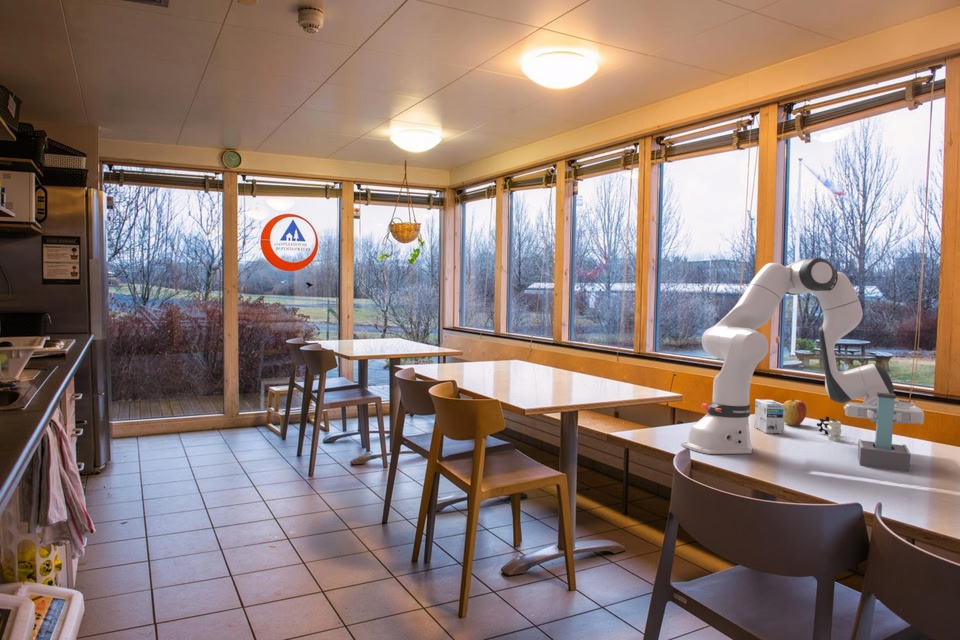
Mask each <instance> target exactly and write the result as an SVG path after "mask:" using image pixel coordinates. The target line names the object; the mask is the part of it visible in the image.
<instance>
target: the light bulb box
mask: <svg viewBox="0 0 960 640" xmlns="http://www.w3.org/2000/svg"><path fill="white" fill-rule="evenodd" d="M754 405H755V406H754V407H755V408H754V409H755V410H754V428H755V427H756V428H755V429H757V428H758V429H757V430H759V429H760V430H759V431H761V432H763V433H765V434H773V433H779V435H784V434H785V422H784V419H785V405H784V404H783V403H781V402H778V401H775V400H773V399H762V398H761V399H760V398H759V399H758V398H755V403H754Z"/></svg>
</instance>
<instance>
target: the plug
mask: <svg viewBox="0 0 960 640" xmlns="http://www.w3.org/2000/svg"><path fill="white" fill-rule="evenodd" d="M877 397H878V403H877V413H878V416H877V417H878V418H877V420H876V423H875V439H874V442H875V448H882V449H891V448H892V444H893V431H894V430H893V428H894V426H893V425H894V424H893V414H894V399H897V395H896V394H895V393H893V394H890V393H879V392H877Z"/></svg>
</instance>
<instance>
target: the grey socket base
mask: <svg viewBox="0 0 960 640" xmlns="http://www.w3.org/2000/svg"><path fill="white" fill-rule="evenodd" d="M857 460H858V464H859V466H861V467H868V468H875V469H876V468H878V469H885V470H892V471H898V472H899V471H900V472H907V473H910V468H911V467H910V466H911V451H910V450H909V448H908V447H907V445H906V444H903V443H902V444H897V443H894V444H893V443H892V448H891V449H882V448H875V441H868V440H862V439H860V438H859V439H858V446H857Z"/></svg>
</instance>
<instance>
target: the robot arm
mask: <svg viewBox="0 0 960 640" xmlns="http://www.w3.org/2000/svg"><path fill="white" fill-rule="evenodd" d="M811 293H812V294H813V295H814V296H815V297H816V298H817V299H818V301H819V305H820V308H821V310H822V314H823V321H822V325H820V327H819V328H818V340H819V341H818V342H819V348H820V354H821V355H820V356H821V360H822V365H823V370H824V387H825V388H824V389H825V392H826V394H827V396H828V398H829V399H830V400H832V401H834V402H835V403H838V404H844V403H845V405H843V406H842V407H843V410H844V415H845V416H846V417H852V418H859V419H860V418H861V419H867V420H868V419H869V421H870V422H873V424H876V420H877V418H878V417H877V416H878V413H877V403H878V397H877V392H879V393H890V394H894V392H895V387H894V384H893V381H892V378H891V377H890V375H889V373H888V372H887V370H886V369H885V368H884V367H883V366H882V365H880V364H878V363H874V362H873V363H869V364H865V365H861V366H858V367H853V368H851V369H846V370H844V371H843V370H842V371H840V370H838V366H837V361H836V360H837V359H836V353H835V346H836V344H837V343H838V342H839V341H840V340H841V339H843V337H845V336H846V335H848V333H850V332H852V331H853V330H854V329H855V328H857V326H858V325H859V324H860V323H861V322H862V320H863V316H864V313H863V308H862V304H861V301H860V299H859V296H858V294H857V292H856V290H855V287H854V286H853V283H852V282H851V281H850V279H849V278H848V276H847V275H846V274H845V273H844V272H842V271H837V270H836V269H835V267H834V266H833V264H832V263H831V262H830V261H829V260H827V259H825V258H822V257H811V258H806V259H801V260H800V259H799V260H796V261H794V262H792V263H789V264H786V265H783V264H781V263H778V262H768V263H766V264H764V266H763V267H761V268H760V270H758V271H757V273H756V274H755V276H753V278H752V280H751V281H750V282H749V284H748V285H747V287H746V289H745V290H744V291H743V293H742V295H741V297H739V299H738V301H737V302H736V304H735V305H734V307H733V308H732V309H731V310H730V311H729V312H728V313H727V314H726V315H725V316H724V317H723V318H722V319H720V321H718V322H717V323H716V324H714V325H713V326H711V327H709V328H707V329H706V330H705V331H704V332H703V334H702V336H701V345H702V346H701V347H702V349H703V351H705V352H706V354H709V355H710V356H712V357H714V358H716V359H722V360H723V363H722V367H721V369H720V371H719V373H717V374H716V375H715V376H714V378H713V384H712V401H711V402H710V404H709V403H705V402H703V403H702V404H701V409H702V410H705V411H707V413H706V414H705V415H704V416H702V418H701V419H699V420H698V421H697V422H695V423H694V424H693V425H691V427H690V429H689V431H688V439H687V440H686V439H685V440H681V441H680V445H681V446H682V447H684V448H687V449H689V450H691V451H693V452H694V451H695V452H698V453H702V454H709V455H719V454H720V455H721V454H724V455H726V454H727V455H728V454H729V455H730V454H731V455H732V454H734V455H735V454H752V453H753V452H752V450H753V446H752V441H751V432H750V422H749V417H750V416H751V405H750V393H751V392H750V391H751V381H752V378H753V374H754V372H755V370H756V367H757V366H758V365H759V363H760V362H761V361H762V360H763V359H765V357H766V355H767V354H768V352H769V342H768V339H767V337H766V336H765V335H764V333H761V332H759V331H757V329H759V328H761V327H762V326H764V325H766V324H767V323H768V322H769V321H770V319H772V317H773V315H774V313H775V311H776V310H777V308H778V306H779V305H780V304H781V302H782V300H783V298H784V296H785V295H790V296H791V295H792V296H797V295H806V294H811ZM860 398H861V399H862V398H864V399H863V402H862V403H861V402H851V401H853V400H857V399H860ZM924 420H925V411H923V409H922V408H921V407H919V406H917V405H916V404H915V402H911V401H907V400H902V399H901V400H900V399H897V398H896V399H894V414H893V425H894V424H903V425H905V424H907V425H910V424H911V425H914V424H917V425H923V424H924V422H925V421H924Z"/></svg>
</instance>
